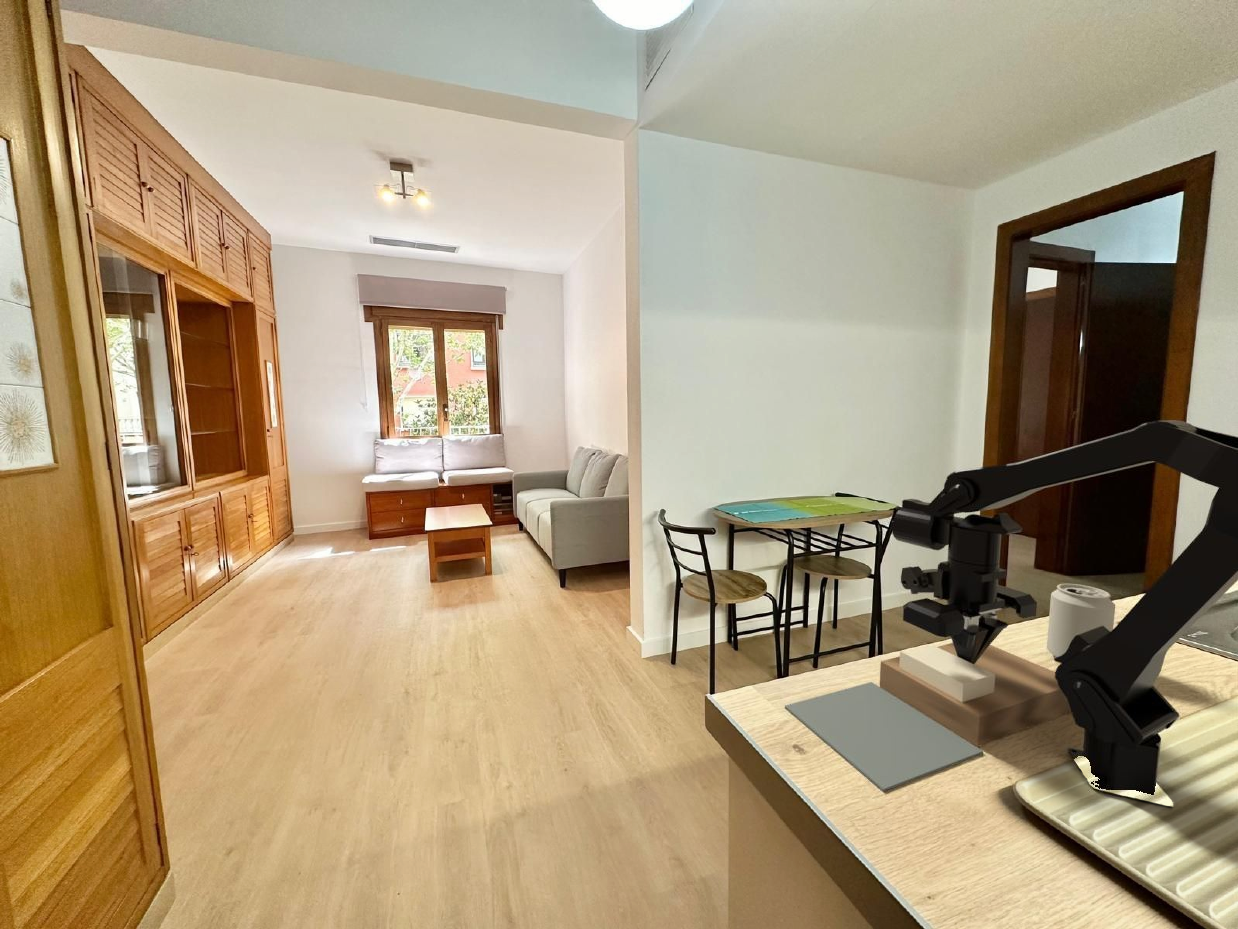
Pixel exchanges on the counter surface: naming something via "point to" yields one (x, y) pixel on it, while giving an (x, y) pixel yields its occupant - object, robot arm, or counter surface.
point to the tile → (947, 672)
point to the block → (984, 697)
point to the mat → (882, 734)
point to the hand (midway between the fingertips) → (965, 666)
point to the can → (1076, 614)
